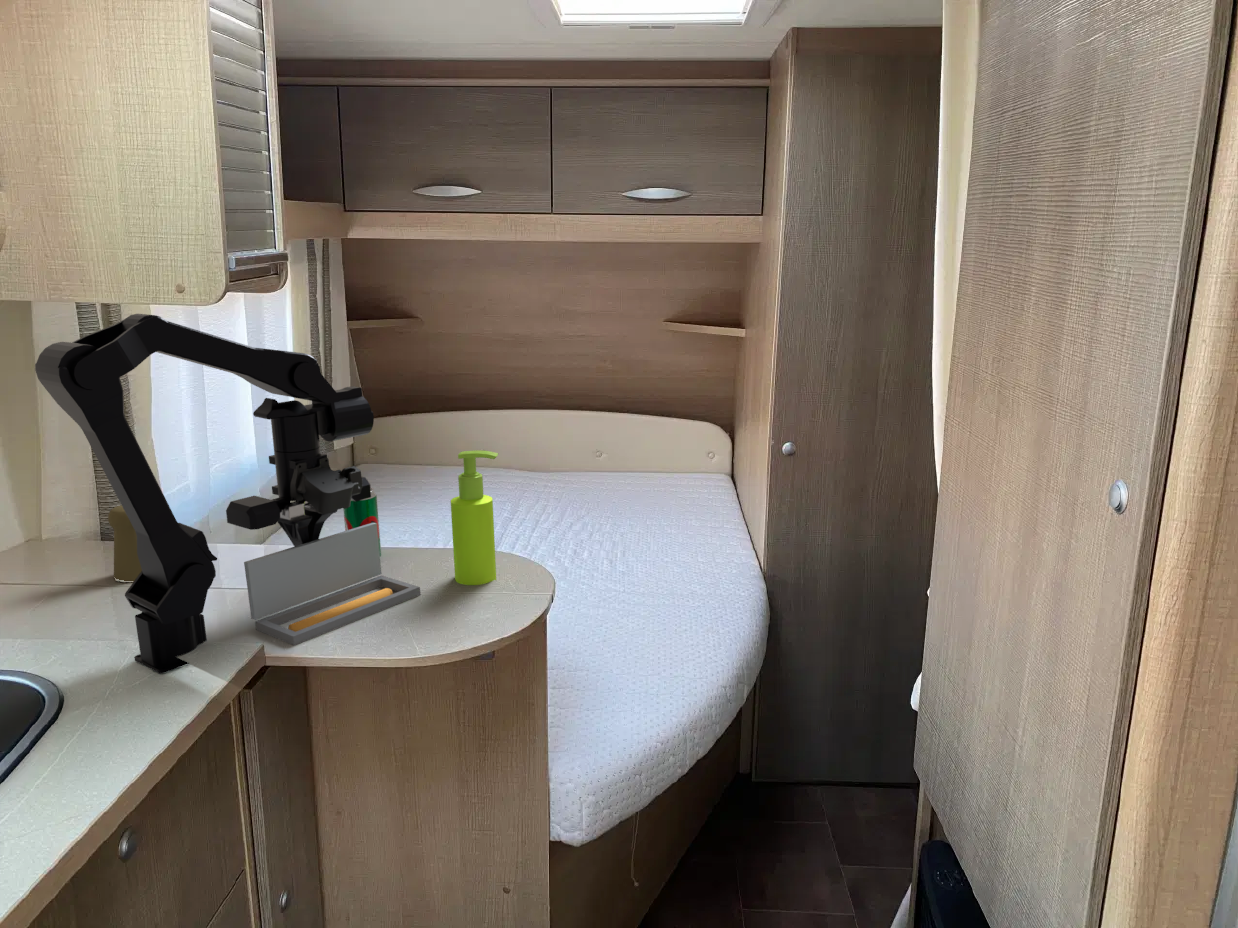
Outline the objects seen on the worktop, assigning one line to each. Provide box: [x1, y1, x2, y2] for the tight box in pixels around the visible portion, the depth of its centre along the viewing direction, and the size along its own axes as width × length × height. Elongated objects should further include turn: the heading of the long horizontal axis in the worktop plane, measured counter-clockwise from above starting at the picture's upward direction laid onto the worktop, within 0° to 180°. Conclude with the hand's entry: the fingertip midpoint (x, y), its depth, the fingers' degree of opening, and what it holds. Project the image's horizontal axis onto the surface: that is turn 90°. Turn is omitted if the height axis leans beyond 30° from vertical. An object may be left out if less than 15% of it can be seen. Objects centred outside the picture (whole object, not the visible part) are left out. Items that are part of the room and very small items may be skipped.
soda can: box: [342, 487, 382, 558], centre depth 143 cm, size 5×5×12 cm
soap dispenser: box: [450, 449, 499, 586], centre depth 132 cm, size 6×7×20 cm
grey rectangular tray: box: [254, 574, 421, 646], centre depth 123 cm, size 20×8×2 cm, turn 143°
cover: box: [243, 523, 382, 621], centre depth 124 cm, size 20×8×1 cm
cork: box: [107, 504, 142, 581], centre depth 140 cm, size 6×6×11 cm
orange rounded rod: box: [288, 587, 394, 632], centre depth 123 cm, size 16×2×2 cm, turn 143°
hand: (307, 561), depth 125 cm, fingers closed, pressing on cover
